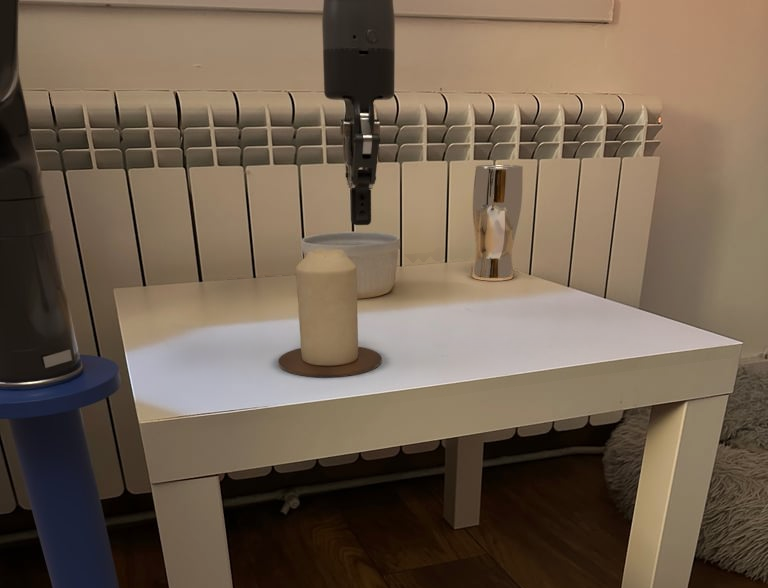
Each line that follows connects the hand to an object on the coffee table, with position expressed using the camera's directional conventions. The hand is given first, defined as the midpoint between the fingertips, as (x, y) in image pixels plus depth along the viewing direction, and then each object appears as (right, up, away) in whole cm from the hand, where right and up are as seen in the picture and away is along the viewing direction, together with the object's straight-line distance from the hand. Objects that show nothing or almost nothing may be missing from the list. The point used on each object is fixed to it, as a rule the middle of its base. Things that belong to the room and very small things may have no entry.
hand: (360, 224), depth 84 cm
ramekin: (-2, -3, +16) cm, 17 cm away
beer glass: (+19, +2, +24) cm, 31 cm away
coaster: (-3, -19, -13) cm, 23 cm away
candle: (-3, -19, -13) cm, 23 cm away
